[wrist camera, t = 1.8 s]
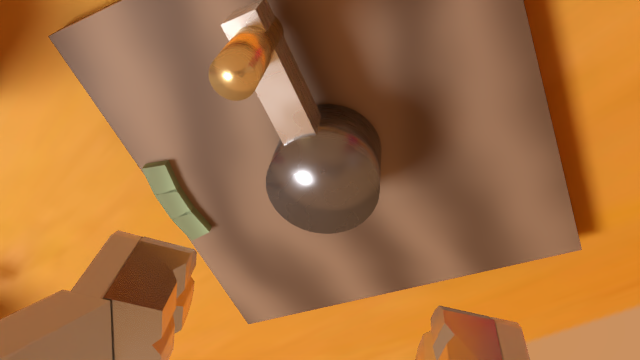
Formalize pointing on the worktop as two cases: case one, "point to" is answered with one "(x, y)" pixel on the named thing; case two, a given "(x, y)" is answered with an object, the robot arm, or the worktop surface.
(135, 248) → the robot arm
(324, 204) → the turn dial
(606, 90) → the worktop surface
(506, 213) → the wooden board
